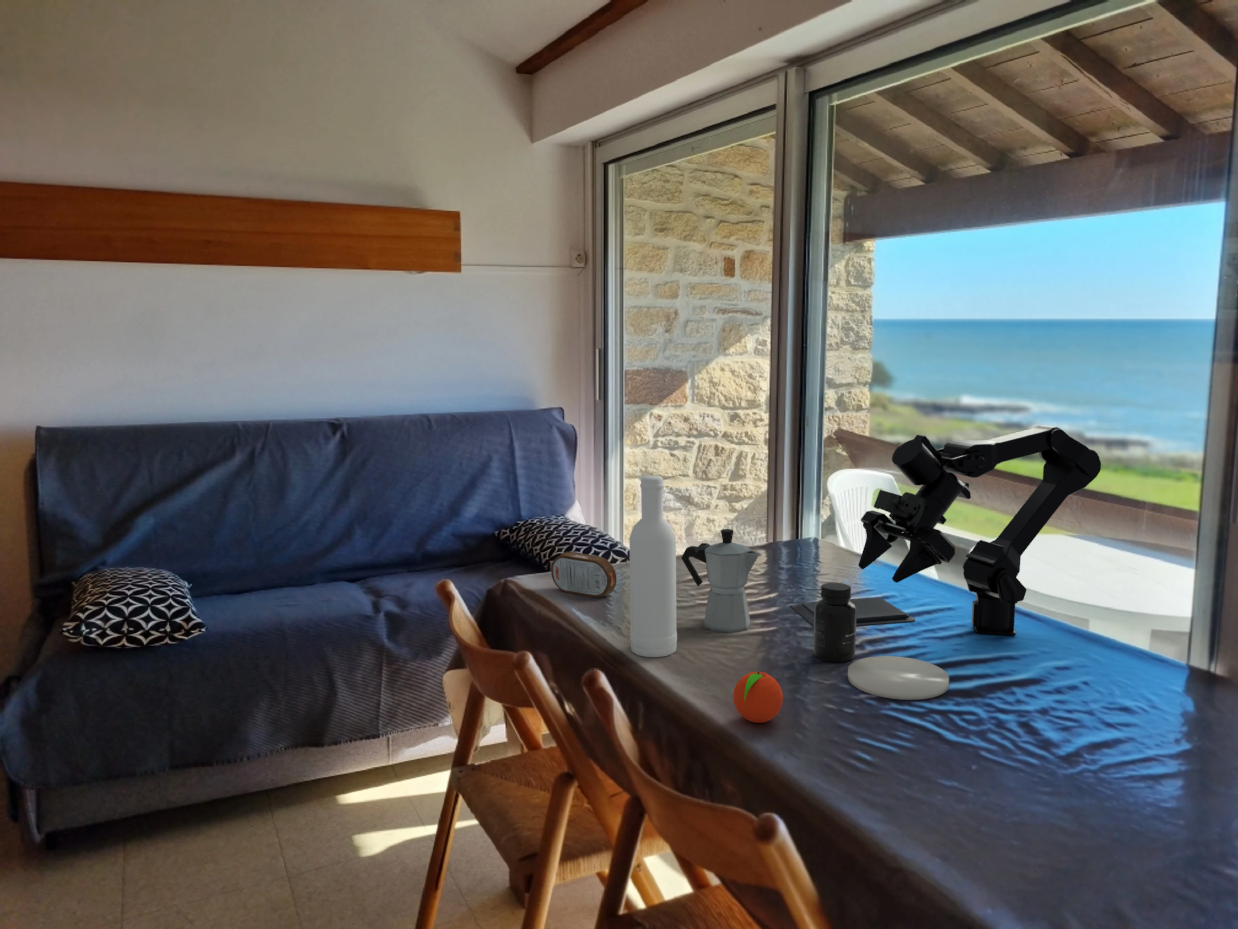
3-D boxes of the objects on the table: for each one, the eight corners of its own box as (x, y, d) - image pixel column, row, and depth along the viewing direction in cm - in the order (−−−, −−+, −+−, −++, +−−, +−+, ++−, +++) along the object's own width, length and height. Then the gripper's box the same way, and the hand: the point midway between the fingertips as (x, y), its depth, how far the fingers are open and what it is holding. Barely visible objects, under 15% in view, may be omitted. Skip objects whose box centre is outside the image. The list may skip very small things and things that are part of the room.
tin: (617, 597, 193) (617, 557, 192) (609, 601, 190) (608, 560, 189) (558, 587, 201) (557, 548, 200) (549, 591, 198) (548, 552, 197)
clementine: (768, 738, 127) (768, 687, 126) (721, 727, 131) (721, 678, 130) (790, 717, 134) (791, 668, 133) (745, 707, 138) (745, 660, 136)
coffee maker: (765, 621, 176) (766, 526, 174) (756, 635, 168) (757, 537, 165) (688, 614, 181) (687, 522, 179) (675, 628, 173) (675, 532, 170)
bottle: (620, 650, 162) (618, 477, 157) (651, 638, 167) (649, 471, 163) (656, 661, 156) (654, 482, 152) (686, 649, 162) (685, 476, 158)
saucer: (945, 667, 152) (945, 660, 151) (952, 704, 137) (952, 696, 137) (849, 660, 156) (849, 653, 155) (845, 694, 141) (846, 687, 141)
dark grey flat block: (815, 623, 171) (787, 599, 186) (815, 633, 171) (787, 608, 186) (919, 615, 174) (884, 593, 189) (919, 625, 174) (884, 602, 189)
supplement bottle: (856, 664, 154) (858, 592, 152) (813, 661, 155) (814, 591, 153) (854, 649, 160) (856, 581, 159) (813, 647, 162) (814, 579, 160)
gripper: (869, 465, 166) (816, 534, 164) (941, 481, 149) (883, 558, 147) (906, 504, 170) (854, 571, 168) (980, 524, 153) (923, 599, 151)
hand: (876, 574), depth 158 cm, fingers open, 9 cm apart
